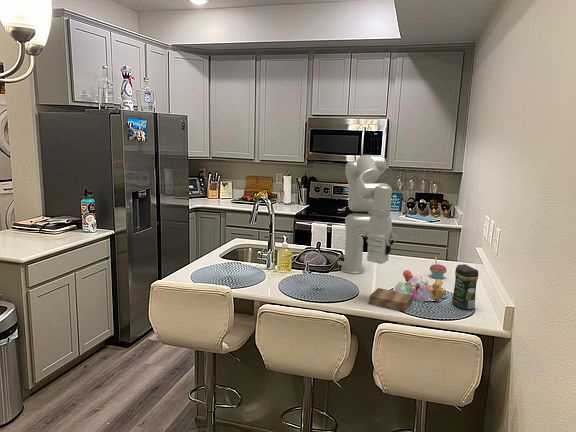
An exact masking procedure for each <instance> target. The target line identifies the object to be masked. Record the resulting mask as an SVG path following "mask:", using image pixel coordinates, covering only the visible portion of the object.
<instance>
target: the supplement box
mask: <svg viewBox="0 0 576 432" xmlns="http://www.w3.org/2000/svg"><path fill="white" fill-rule="evenodd" d="M386 246H387V243H386V241H385V236H382V235H376V234H369V238H368V249H367V256H366V261H367V262H371V263H375V264H380V265H382V264H384V263H387V262H388V261H389V256H390V253H389V254H388V255H386Z"/></svg>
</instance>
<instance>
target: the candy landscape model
mask: <svg viewBox="0 0 576 432" xmlns="http://www.w3.org/2000/svg"><path fill="white" fill-rule="evenodd" d="M402 276H403V278H404V279H405V282H403V281H398V282H397V284H396V285H394V287H393V289H392V291H396V292H401V293H405V294H410V295H413V299H415V300H414V301H418V300H423V301H426V300H427V301H430V300H433V301H439V302H442V299H446V298H447V297H448V295H447V290H446V289H445V288H442V286H443V284H444V282H443V281H442V280H441V279H436V278H435V282H433V284H430V282H429V281H428V279H427V278H424V277H423V276H422V275H415V276H414V275H413V274H412V272H411V271H410V270H408V269H405V270H403V272H402ZM429 284H430V285H429ZM416 299H417V300H416Z"/></svg>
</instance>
